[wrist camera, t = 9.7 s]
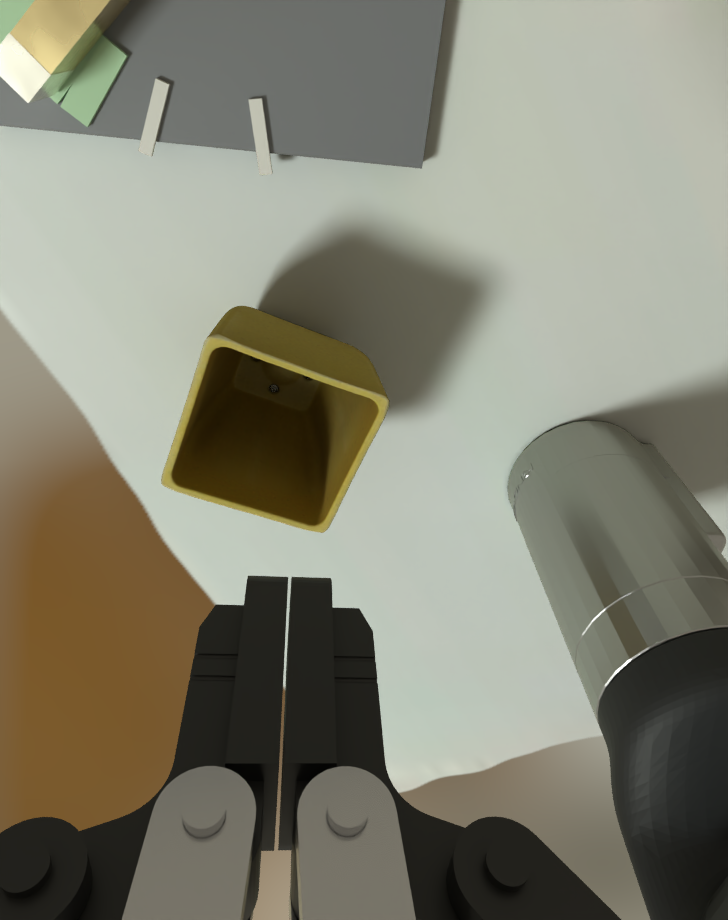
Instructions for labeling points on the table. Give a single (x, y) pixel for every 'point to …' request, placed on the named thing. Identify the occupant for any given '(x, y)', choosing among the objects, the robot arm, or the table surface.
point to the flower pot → (275, 421)
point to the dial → (53, 43)
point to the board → (252, 78)
